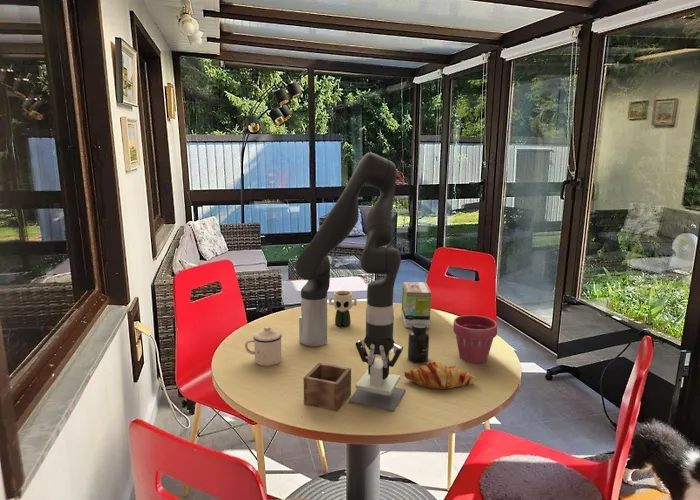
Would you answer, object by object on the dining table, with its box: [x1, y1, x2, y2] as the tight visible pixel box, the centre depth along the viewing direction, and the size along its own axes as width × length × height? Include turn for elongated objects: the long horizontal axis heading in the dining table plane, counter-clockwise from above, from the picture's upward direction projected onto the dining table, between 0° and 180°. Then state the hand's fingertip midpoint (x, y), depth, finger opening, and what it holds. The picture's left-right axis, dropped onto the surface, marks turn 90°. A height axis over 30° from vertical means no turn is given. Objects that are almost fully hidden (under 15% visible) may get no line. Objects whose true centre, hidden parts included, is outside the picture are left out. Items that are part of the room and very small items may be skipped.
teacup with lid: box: [244, 326, 283, 367], centre depth 157 cm, size 12×9×12 cm
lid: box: [355, 358, 401, 395], centre depth 135 cm, size 10×10×7 cm
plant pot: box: [452, 314, 498, 364], centre depth 161 cm, size 14×14×13 cm
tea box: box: [401, 281, 432, 329], centre depth 193 cm, size 15×10×15 cm
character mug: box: [328, 290, 358, 327], centre depth 190 cm, size 11×7×13 cm, turn 87°
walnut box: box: [303, 362, 352, 413], centre depth 134 cm, size 10×10×8 cm
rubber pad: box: [348, 386, 406, 413], centre depth 136 cm, size 13×12×1 cm
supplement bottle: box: [407, 323, 430, 364], centre depth 159 cm, size 7×7×12 cm
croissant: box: [404, 360, 477, 390], centre depth 144 cm, size 21×10×8 cm, turn 87°
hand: (378, 377), depth 135 cm, fingers closed on lid, 3 cm apart
